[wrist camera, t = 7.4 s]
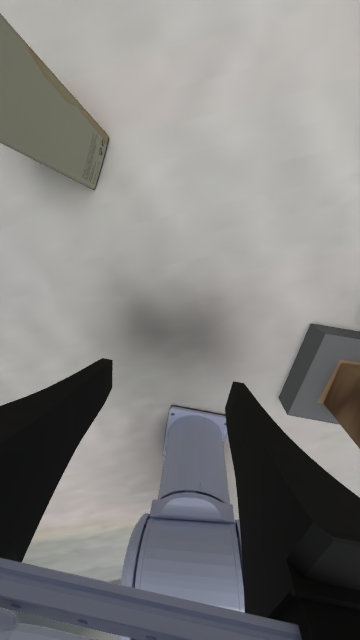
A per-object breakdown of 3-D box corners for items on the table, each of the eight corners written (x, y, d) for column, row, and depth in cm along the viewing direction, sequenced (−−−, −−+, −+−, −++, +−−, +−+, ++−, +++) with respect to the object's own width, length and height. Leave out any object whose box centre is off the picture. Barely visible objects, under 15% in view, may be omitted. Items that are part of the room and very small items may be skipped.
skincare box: (111, 137, 16) (-109, -135, 5) (95, 193, 17) (-98, 96, 6) (39, 94, 15) (-415, -336, 4) (29, 156, 17) (-315, -26, 6)
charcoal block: (358, 410, 24) (380, 432, 21) (277, 395, 24) (287, 414, 21) (405, 338, 20) (439, 352, 17) (308, 321, 20) (325, 333, 17)
